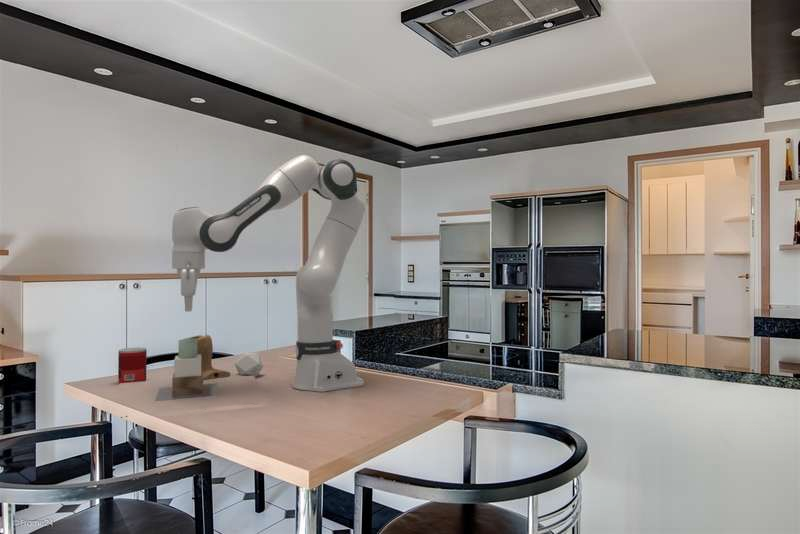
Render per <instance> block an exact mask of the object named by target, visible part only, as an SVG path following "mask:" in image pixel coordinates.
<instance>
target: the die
mask: <svg viewBox="0 0 800 534" xmlns="http://www.w3.org/2000/svg"><path fill="white" fill-rule="evenodd" d="M234 366H235V368H236V371H237V373H238V375H239V376H253V377H254V378H257V377H258V375H259V373H260V372H261V371H262V370H263V368H264V364H263V362H262V359H261V356H260V355H259V352H243V353H241V354H240V356H239V358H238V359H237V360H236V362H235V363H234Z"/></svg>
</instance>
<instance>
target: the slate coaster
mask: <svg viewBox="0 0 800 534" xmlns="http://www.w3.org/2000/svg"><path fill="white" fill-rule="evenodd" d="M158 389H159V390H158V391H157V394H156V396H155V400H154V401H155V402H162V401H171V400H182V399H183V400H185V399H194V398H203V397H204V398H205V397H214V396H215V397H216V396H219V391H218V384H217V382H216V383H203V393H201V394H190V395H179V396H172V386H170V387H169V386H167V387H159V388H158Z"/></svg>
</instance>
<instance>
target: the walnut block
mask: <svg viewBox="0 0 800 534" xmlns="http://www.w3.org/2000/svg"><path fill="white" fill-rule="evenodd" d="M171 379H172V382H171V383H172V384H171V385H172V386H171V387H172V396H179V395H190V394H201V393H203V384H204V380H203V371H201V376H190V377H177V378H174V373H173V374H172V378H171Z"/></svg>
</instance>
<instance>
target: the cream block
mask: <svg viewBox="0 0 800 534" xmlns="http://www.w3.org/2000/svg"><path fill="white" fill-rule="evenodd" d="M173 362H174V372H173V374H174V378H177V377H190V376H201V355H197V357H195V358H189V359H180V358H179V355H175V357H174V361H173Z"/></svg>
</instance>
